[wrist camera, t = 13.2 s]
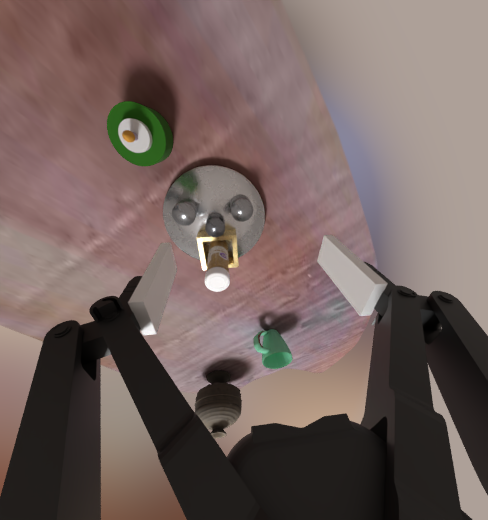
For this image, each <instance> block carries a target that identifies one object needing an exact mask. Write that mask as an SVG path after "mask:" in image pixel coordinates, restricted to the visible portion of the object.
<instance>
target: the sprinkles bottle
mask: <svg viewBox="0 0 488 520" xmlns="http://www.w3.org/2000/svg"><path fill="white" fill-rule="evenodd" d="M228 270H229V268H228V245H227V243H226V242H225V241H224V240H218V241H212V242H211V243H210V245H209V254H208V263H207V272H206V275H205V285H206V286H207V288H208V289H210V290H212V291H223V290H225V289H226V288H227V287H228V286H229V284H230V275H229V271H228Z"/></svg>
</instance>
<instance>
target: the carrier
mask: <svg viewBox="0 0 488 520" xmlns="http://www.w3.org/2000/svg"><path fill="white" fill-rule="evenodd" d="M163 219H164V223H165V227H166V230H167V232H168V234H169V236H170V237H171V239H172V240H173V242H174V243H175V244H176V245H177V246H178V247H179V248H180V249H181V250H182V251H183V252H185V253H186V254H188V255H190V256H191V257H193V258H196V259H198V260H201V264H202V269H203V270H207V263H208V254H209V245H210V243H211V242H212V241H218V240H224V241H225V242H226V243H227V245H228V268H232V267H238V258H239V257H241V256H242V255H244V254H245V253H247V252H248V251H249V250H250V249H252V247H253V246H254V245H255V244H256V243H257V241H258V240H259V238H260V236H261V233H262V231H263V227H264V222H265V211H264V205H263V202H262V199H261V197H260V195H259V193H258V191H257V190H256V188H255V187H254V185H253V184H252V183H251V182H250V181H249V180H248V179H247V178H246V177H245V176H244V175H242V174H241V173H239V172H237V171H235V170H233V169H231V168H228V167H225V166H219V165H205V166H200V167H196V168H193V169H191V170H189V171H187V172H186V173H184V174H183V175H181V176H180V177H179V178H178V179H177V180H176V181H175V182H174V183H173V185H172V186H171V187H170V189H169V191H168V192H167V195H166V197H165V201H164V206H163Z"/></svg>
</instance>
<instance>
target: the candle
mask: <svg viewBox="0 0 488 520" xmlns="http://www.w3.org/2000/svg"><path fill="white" fill-rule="evenodd" d="M107 130H108V135H109V138H110V140H111V142H112V144H113V146H114V148H115V149H116V150H117V152H118V153H119V154H120V155H121V156H122V157H123V158H125V159H126V160H127V161H129V162H131V163H133V164H135V165H138V166H150V165H154V164H156V163H159V162H161V161H163V160H165V159H166V158H167V157H168V156H169V155H170V153H171V151H172V148H173V136H172V132H171V129H170V127H169V125H168V123H167V121H166V120H165V119H164V118H163V117H162V116H161V115H160V114H159V113H158V112H156V111H155V110H153V109H151V108H148V107H146V106H143V105H141V104H139V103H135V102H131V101H128V102H121V103H119V104H117V105H115V106H114V107H113V108H112V109H111V111H110V113H109V115H108V119H107Z"/></svg>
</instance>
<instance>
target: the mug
mask: <svg viewBox="0 0 488 520" xmlns="http://www.w3.org/2000/svg"><path fill="white" fill-rule="evenodd" d="M261 335H264V338H263V346H262V345H261V344H260V339H259V337H260V336H261ZM254 347H255V349H256V350H257V351H258V352H260V353H262V363H263V365H264V366H265V367H267V368H270V369H277V368H282V367H284V366H287V365H288V364H289V363H291V361H292V354H291V352H290V350H289V348H288V346H287V344H286V343H285V341H284V340H283V338H282V337H281V335H280V334H279V333H278V332H277V331H276V330H274V329H270V330H267V331H260V332H259V333H258V334H257V335H256V336H255V337H254Z"/></svg>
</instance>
